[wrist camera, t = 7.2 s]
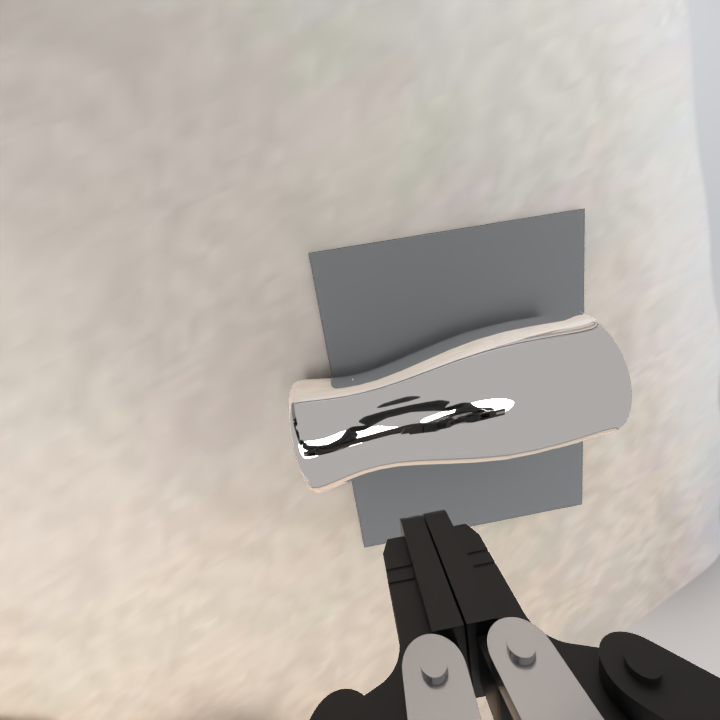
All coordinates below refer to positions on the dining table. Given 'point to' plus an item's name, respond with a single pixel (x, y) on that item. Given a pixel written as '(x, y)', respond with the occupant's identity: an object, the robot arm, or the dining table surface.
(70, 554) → the dining table surface
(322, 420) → the beer glass
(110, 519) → the dining table surface
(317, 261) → the rubber mat
